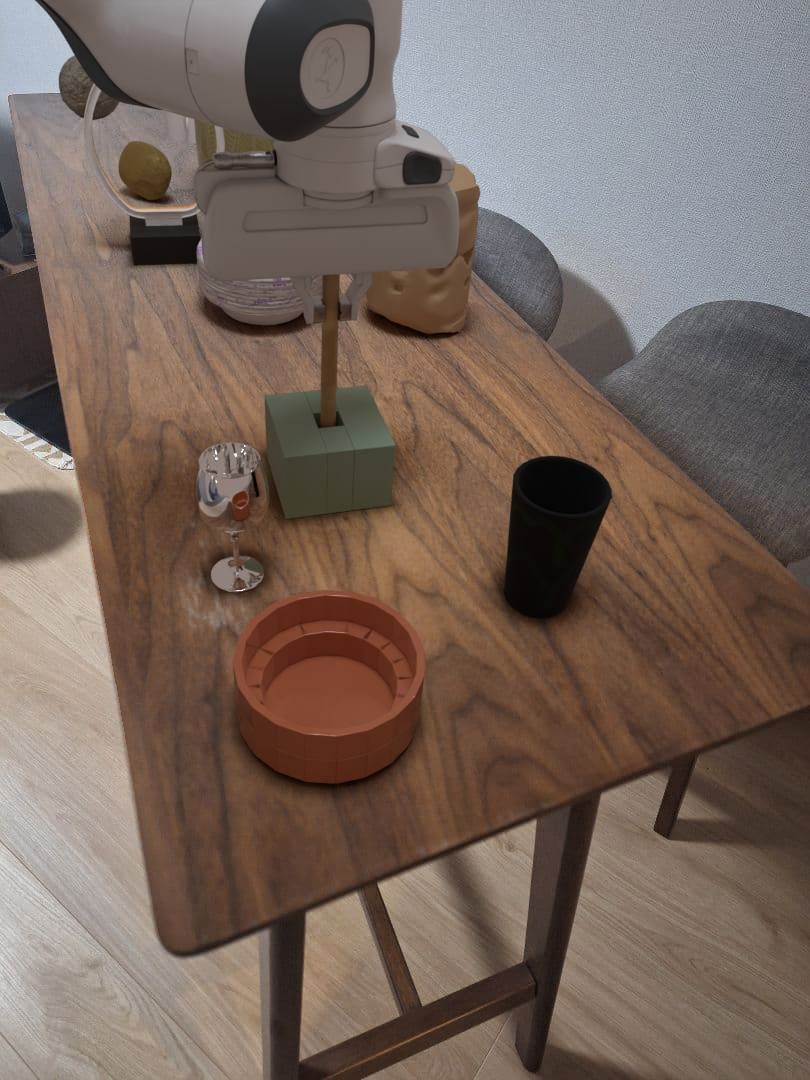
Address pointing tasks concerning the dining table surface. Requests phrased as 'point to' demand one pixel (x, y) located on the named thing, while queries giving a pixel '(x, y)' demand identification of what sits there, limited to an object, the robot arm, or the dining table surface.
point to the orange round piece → (328, 685)
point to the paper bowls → (255, 296)
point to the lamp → (151, 211)
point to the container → (434, 275)
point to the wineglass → (232, 507)
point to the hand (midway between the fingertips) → (330, 319)
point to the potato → (145, 170)
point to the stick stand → (328, 453)
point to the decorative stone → (82, 91)
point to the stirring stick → (329, 350)
